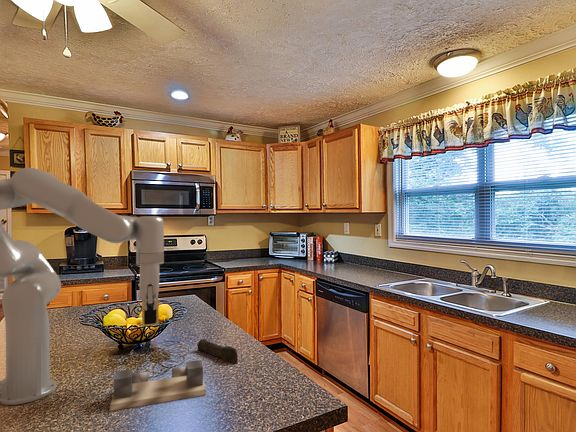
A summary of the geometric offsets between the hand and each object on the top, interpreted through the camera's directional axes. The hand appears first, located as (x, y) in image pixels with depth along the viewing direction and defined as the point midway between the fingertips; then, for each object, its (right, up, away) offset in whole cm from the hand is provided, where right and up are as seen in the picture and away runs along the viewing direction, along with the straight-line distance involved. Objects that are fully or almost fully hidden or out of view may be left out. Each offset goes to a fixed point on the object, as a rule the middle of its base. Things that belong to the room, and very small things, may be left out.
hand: (150, 320), depth 102 cm
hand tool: (+17, -18, +18) cm, 30 cm away
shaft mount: (+6, -17, -8) cm, 20 cm away
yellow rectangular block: (0, -1, 0) cm, 1 cm away
